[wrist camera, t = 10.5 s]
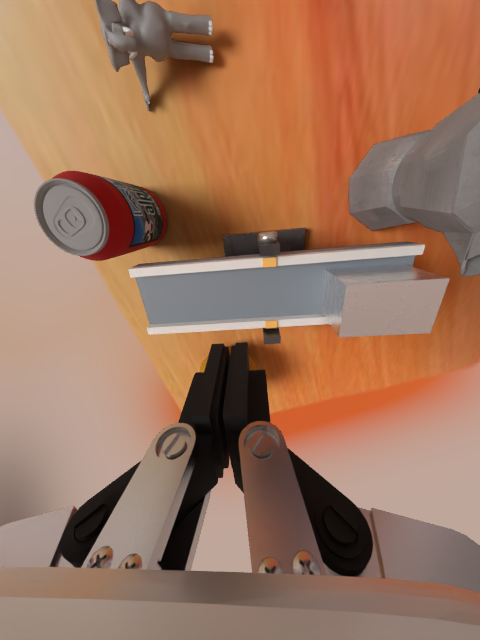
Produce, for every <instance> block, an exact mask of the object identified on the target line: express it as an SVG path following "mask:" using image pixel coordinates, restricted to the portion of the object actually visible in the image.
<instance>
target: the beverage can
mask: <svg viewBox="0 0 480 640" xmlns="http://www.w3.org/2000/svg"><path fill="white" fill-rule="evenodd" d="M34 209H35V214H36V218H37V220H38V223H39V225H40V226H41V228H42V230H43V232H44V233H45V235H46V236H47V237H48V238H49V239H50V240H51V241H52V242H53V243H54V244H55V245H56V246H57V247H59V248H60V249H62V250H64V251H65V252H68V253H70V254H73V255H78V256H80V257H83V258H86V259H90V260H95V261H101V260H106V259H110V258H113V257H117V256H120V255H124V254H127V253H130V252H134V251H137V250H140V249H143V248H146V247H149V246H152V245H154V244H156V243H157V242H159V241H160V240H161V239H162V237H163V235H164V233H165V230H166V225H167V221H166V214H165V211H164V208H163V206H162V204H161V203H160V201H159V200H158V199H157V197H156V196H155V195H154V194H153V193H151V192H150V191H148V190H147V189H145V188H142V187H139V186H135V185H132V184H128V183H124V182H120V181H117V180H113V179H109V178H105V177H101V176H96V175H92V174H88V173H84V172H79V171H66V172H62V173H60V174H58V175H56V176H55V177H53V178H52V179H50V180H48V181H46V182H44V183H43V184H42V185H41V186H40V187H39V188H38V190H37V192H36V195H35V199H34Z"/></svg>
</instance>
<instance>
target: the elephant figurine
mask: <svg viewBox="0 0 480 640" xmlns="http://www.w3.org/2000/svg"><path fill="white" fill-rule="evenodd" d="M95 3H96V7H97V10H98V13H99V17H100V25H101V31H102V35H103V37H104V40H105V42H106V45H107V47H108V50H109V56H110V60H111V63H112V65H113V67H114V69H115V70H116V72H118V71H119V69H120V67H122V66H125V65H128V64H130V62H129V59H130V60H132V62H133V65H134V67H135V70H136V73H137V75H138V78H139V80H140V83H141V86H142V89H143V96H144V100H145V103H146V106H147V110H148V111H150V110H149V104H150V99H149V91H148V87H147V79H146V68H145V60H144V59H145V56H150V57H152V58H153V59H154V60H155V61H156V62H161V61H165V60H166V59H168V58H169V57H172V58H174V59H185V60H197V61H202V62H207V63H213V59H214V56H213V50H212V47H211V46H210V45H200V44H193V43H185V42H180V41H175V40H173V39H172V38H171V37H170V36H171V33H173V32H175V33H188V34H200V35H207V36H212V32H213V27H212V20H211V17H210V16H208V15H187V14H181V13H177V12H173V11H166V10H164V9H163V8H162V7H161V6H160V5H158V4H157V3H155V2H150V1H148V2H145V3H143V4H138V3H137V2H136V1H135V0H120V1H119V7H118V8H117V4H116V3H115V2H113V1H111V0H95ZM129 56H130V57H129Z"/></svg>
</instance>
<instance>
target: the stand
mask: <svg viewBox="0 0 480 640" xmlns="http://www.w3.org/2000/svg"><path fill="white" fill-rule="evenodd" d="M223 240H224V249H225V257H229V256H241V255H253V254H260V256H266V255H278V254H280V252H289V251H301V250H304V247H305V228H295V229H284V230H273V231H262V232H251V233H240V234H229V235H223ZM263 339H264V344H276V343H280V333H279V328H278V327H277V328H263Z"/></svg>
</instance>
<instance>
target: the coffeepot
mask: <svg viewBox="0 0 480 640" xmlns="http://www.w3.org/2000/svg"><path fill="white" fill-rule="evenodd" d="M348 197H349V205H350V214H351V215H352V216H354V217H355V218H356V219H357V220H358V221H359V222H360V223H362V224H364V225H365V226H366V227H367V228H369V229H370V230H371V231H372V230H377V229H382V228H388V227H393V226H398V225H403V224H409V223H414V222H418V223H420V224H421V225H423V226H424V227H427V228H430V229H433V230H436V231H439V232H442V233H443V234H444V236H445V237H446V239H447V241H448V242H449V244H450V246H451V247H452V249H453V251H454V253H455V255H456V257H457V259H458V261H459V263H460V265H461V270H460V274H459V275H463V276H474V275H479V274H480V89H479V91H478V95H476V96H475V97H473V98H472V99H471V100H469V101H468V102H466V103H465V104H464V105H462V106H461V107H460V108H458V109H457V110H455V111H454V112H453V113H451V114H450V115H448V116H447V117H446V118H444V119H443V120H442V121H440V122H439V123H437V125H436V126H435V127H434V128H433V129H432V130H427V131H423V132H418V133H413V134H409V135H406V136H402V137H399V138H395V139H392V140H388V141H384V142H381V143H377V144H374V145H373V147H372V148H371V149H370V151H369V152H368V154H367V155H366V156H365V157H364V159H363V160H362V161H361V162H360V164H359V165H358V167H357V169H356V170H355V172H354V173H353V174H352V176H351V177H350V178H349V196H348Z"/></svg>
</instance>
